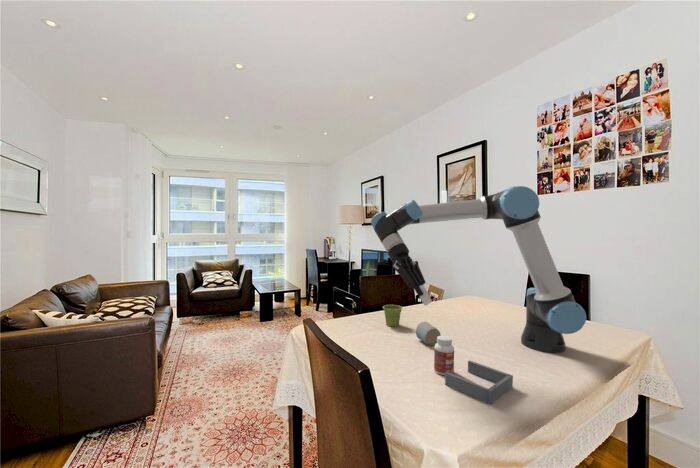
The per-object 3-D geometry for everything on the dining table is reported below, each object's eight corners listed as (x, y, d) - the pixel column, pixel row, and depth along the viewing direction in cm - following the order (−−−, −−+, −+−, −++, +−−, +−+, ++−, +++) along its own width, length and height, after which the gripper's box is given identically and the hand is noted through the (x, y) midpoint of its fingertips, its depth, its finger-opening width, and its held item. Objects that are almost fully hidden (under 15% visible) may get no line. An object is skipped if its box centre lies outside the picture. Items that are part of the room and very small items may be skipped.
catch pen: (445, 384, 92) (445, 373, 92) (469, 370, 101) (469, 360, 101) (490, 404, 82) (490, 391, 82) (512, 387, 91) (512, 375, 91)
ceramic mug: (426, 347, 121) (426, 328, 121) (415, 340, 129) (415, 322, 128) (448, 345, 124) (449, 326, 124) (436, 338, 132) (437, 320, 132)
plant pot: (390, 329, 143) (390, 310, 142) (378, 323, 151) (379, 305, 151) (406, 326, 147) (406, 308, 147) (394, 321, 155) (394, 303, 155)
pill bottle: (448, 378, 96) (448, 342, 96) (430, 371, 101) (430, 337, 100) (457, 371, 101) (457, 338, 100) (440, 365, 105) (440, 333, 105)
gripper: (400, 253, 124) (431, 305, 113) (378, 254, 115) (409, 311, 104) (412, 241, 119) (446, 295, 108) (390, 242, 111) (424, 300, 100)
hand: (428, 303), depth 106 cm, fingers closed
